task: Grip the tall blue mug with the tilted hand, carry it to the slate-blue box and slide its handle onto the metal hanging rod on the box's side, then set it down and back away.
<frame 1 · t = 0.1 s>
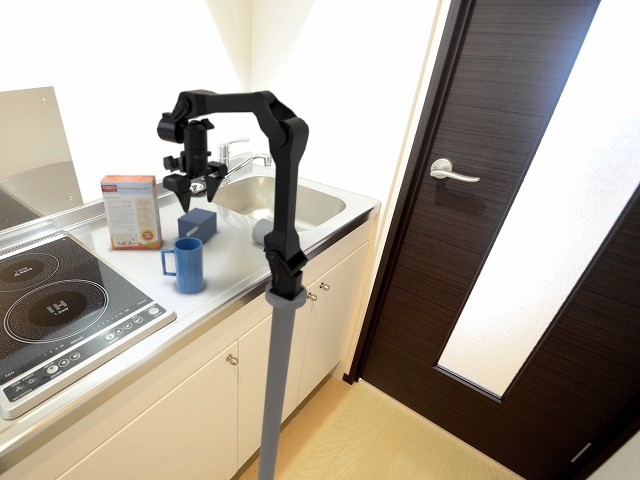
hand: (198, 207, 96), 15 cm above the worktop, tool pointing down, fingers open, 9 cm apart
cracker box: (138, 245, 110), on the worktop
slate-blue box: (198, 235, 116), on the worktop
blue mug: (190, 285, 93), on the worktop
grey cylinder: (270, 244, 113), on the worktop
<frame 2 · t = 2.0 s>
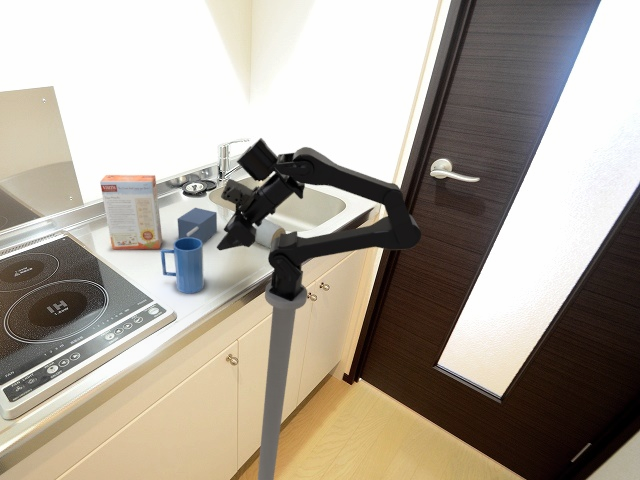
hand: (221, 239, 85), 14 cm above the worktop, tool tilted 45°, fingers open, 9 cm apart
nothing on the worktop moved.
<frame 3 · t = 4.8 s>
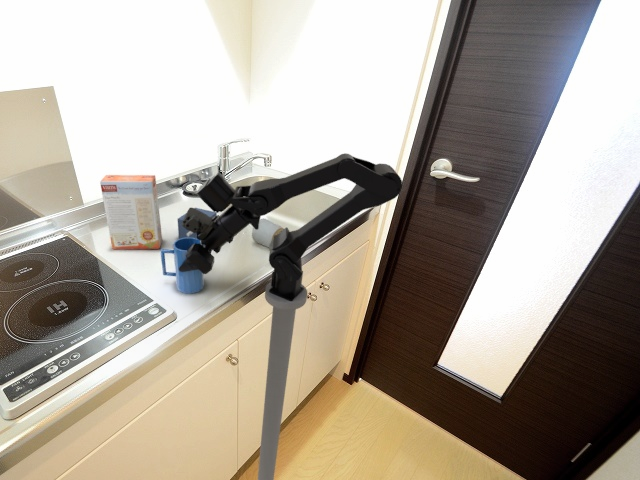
hand: (183, 262, 89), 7 cm above the worktop, tool tilted 45°, fingers closed on blue mug, 7 cm apart
blue mug: (190, 285, 93), on the worktop, touching gripper
everything else where it was.
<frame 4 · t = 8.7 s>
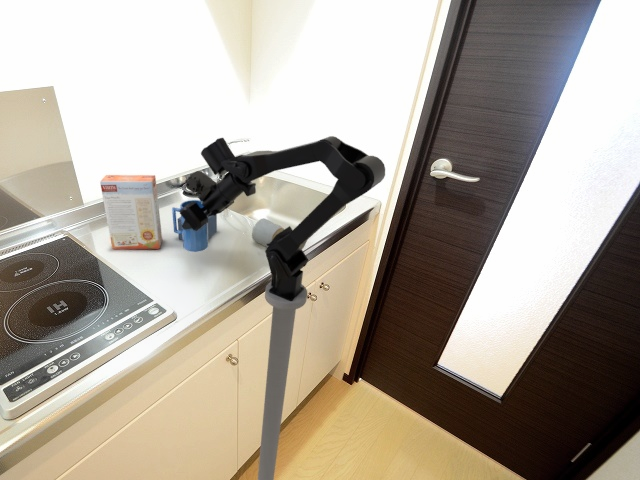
hand: (190, 222, 97), 12 cm above the worktop, tool tilted 45°, fingers closed on blue mug, 7 cm apart
blue mug: (195, 245, 100), point 5 cm above the worktop, touching gripper
everything else where it was.
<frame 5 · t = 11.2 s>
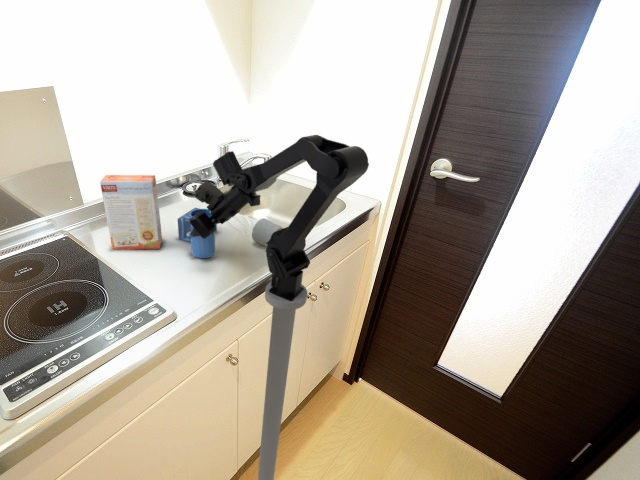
hand: (198, 230, 103), 8 cm above the worktop, tool tilted 45°, fingers closed on blue mug, 7 cm apart
blue mug: (203, 251, 106), point 1 cm above the worktop, touching gripper
everything else where it was.
when the fingers open (7 cm above the worktop, at t = 12.9 s): blue mug stays where it is, on the worktop.
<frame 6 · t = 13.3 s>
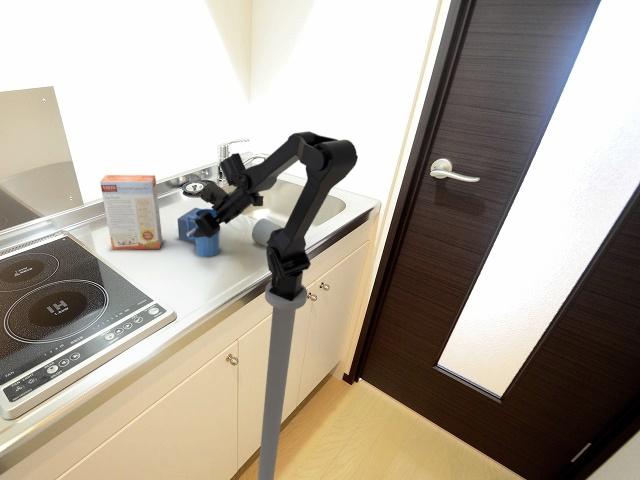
hand: (203, 229, 105), 7 cm above the worktop, tool tilted 45°, fingers open, 9 cm apart
blue mug: (207, 250, 108), on the worktop
everything else where it was.
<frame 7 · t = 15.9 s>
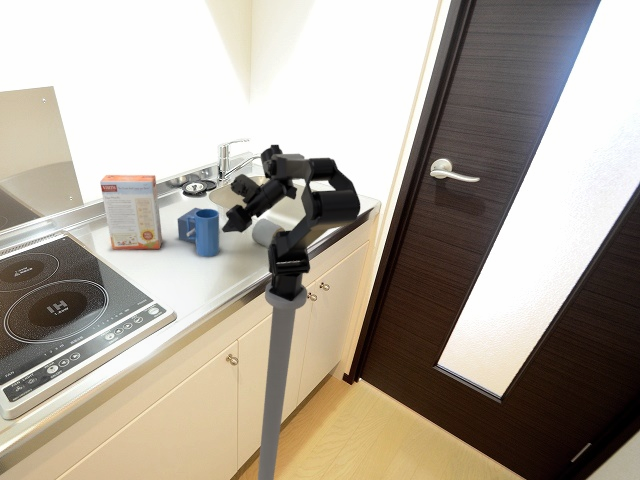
hand: (231, 224, 100), 10 cm above the worktop, tool tilted 45°, fingers open, 9 cm apart
nothing on the worktop moved.
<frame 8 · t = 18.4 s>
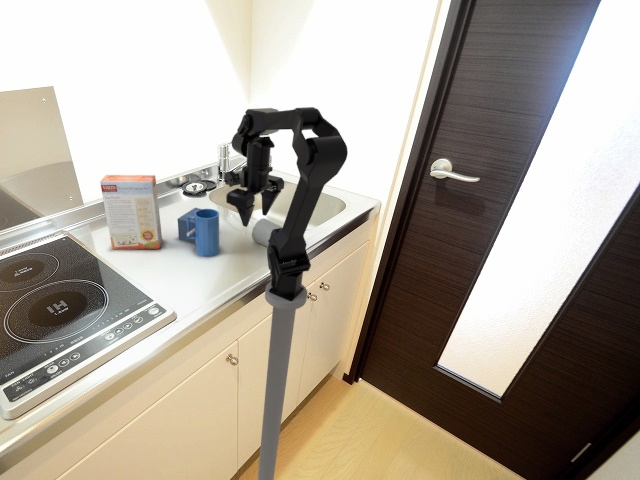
hand: (255, 220, 98), 12 cm above the worktop, tool pointing down, fingers open, 9 cm apart
nothing on the worktop moved.
at the end: blue mug 0.0 cm from the target spot on the worktop beside the slate-blue box, on the worktop; blue mug tilted 0°; the gripper is holding nothing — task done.
